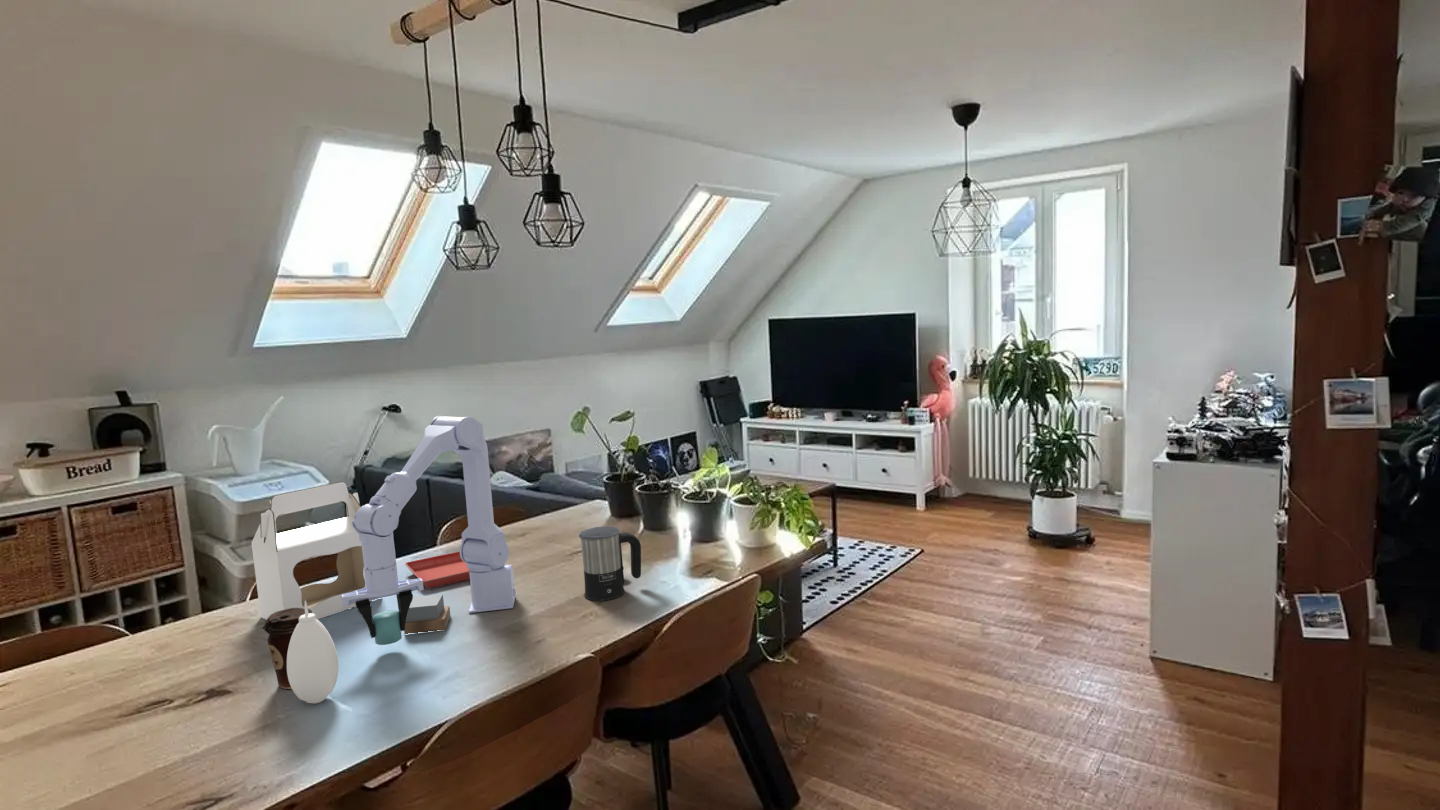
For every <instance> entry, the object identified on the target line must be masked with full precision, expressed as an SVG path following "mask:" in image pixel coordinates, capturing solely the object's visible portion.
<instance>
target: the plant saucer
mask: <svg viewBox="0 0 1440 810" xmlns="http://www.w3.org/2000/svg"><path fill="white" fill-rule="evenodd" d="M404 565H405V566H406V567H407V568H408V569H409V570H410V572H411V573H412V574H413V575H414V576H415V577H416V579H418V578H421V579H422V580H423V586H425V588H427V589H428V588H430V589H434V588H433V587H435V588H438V587H437V586H439V587H442V586H441V585H444V586H447V585H446V584H448V585H452V584H455V582H457V583H460V581H461V582H464V580H465V581H470V580H469V579H470V575H469V568H467V565H466V563H465V562H463V560H462V559H461V557H460V550H459V551H455V552H450V553H446V554H440V555H436V556H431V557H426V558H421V559H416V560H411V561H407V562H405V563H404ZM451 583H452V584H451Z"/></svg>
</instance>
